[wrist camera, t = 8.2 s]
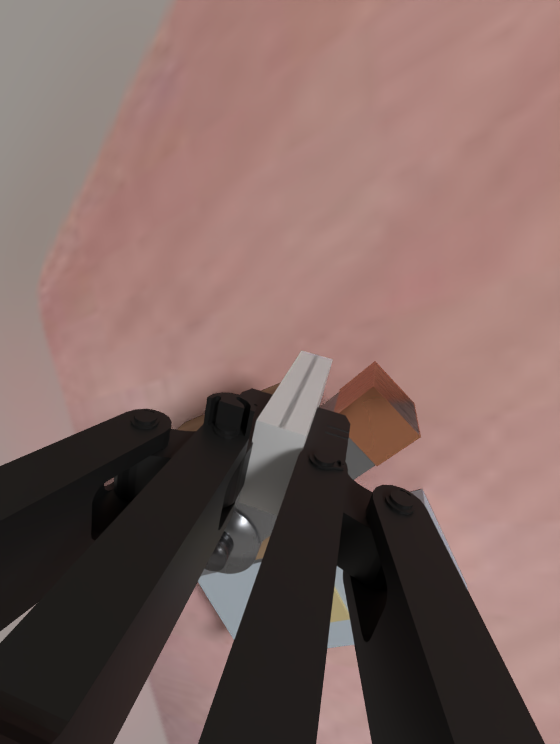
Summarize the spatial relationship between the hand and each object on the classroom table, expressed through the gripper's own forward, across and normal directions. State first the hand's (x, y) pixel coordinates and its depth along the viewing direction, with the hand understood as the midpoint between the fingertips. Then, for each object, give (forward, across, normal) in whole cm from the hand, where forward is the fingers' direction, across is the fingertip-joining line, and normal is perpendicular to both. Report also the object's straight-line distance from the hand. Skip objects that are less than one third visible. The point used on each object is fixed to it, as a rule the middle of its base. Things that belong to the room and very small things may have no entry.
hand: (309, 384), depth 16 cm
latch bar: (+1, 0, -4) cm, 4 cm away
